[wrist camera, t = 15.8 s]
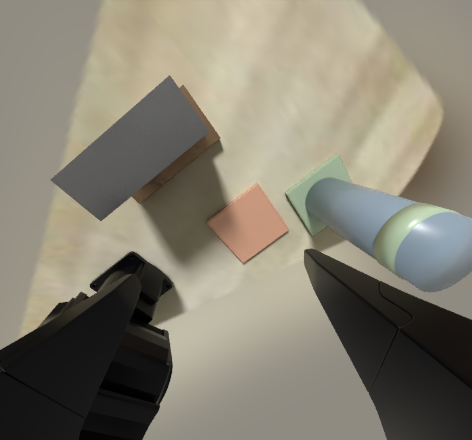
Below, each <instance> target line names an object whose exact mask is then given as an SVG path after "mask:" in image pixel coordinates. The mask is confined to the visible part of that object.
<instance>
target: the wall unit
mask: <svg viewBox="0 0 472 440" xmlns="http://www.w3.org/2000/svg"><path fill="white" fill-rule="evenodd" d="M219 139H220V137H219V135H218V134H217V132H216V131H215V129H214V128H213V127H212V125H211V124H210V122H209V121H208V119H207V118H206V117H205V115H204V114H203V112H202V111H201V109H200V108H199V107H198V105H197V104H196V102H195V101H194V99H193V98H192V97H191V95H190V94H189V92H188V91H187V89H186V88H185V87H184V85H182V86H181V87H180V88H178V86H177V85H176V83H175V82H174V81H173V79H172V78H171V76H170V75H169V76H168V77H167V78H166V79H165V80H164V81H163V82H161V83H160V84H159V85H158V86H157V87H156V88H155V89H154V90H152V91H151V92H150V93H149V94H148V95H147V96H146V97H144V98H143V99H142V100H141V101H140V102H139V103H138V104H136V105H135V106H134V107H133V108H132V109H131V110H130V111H128V112H127V113H126V114H125V115H124V116H123V117H122V118H120V119H119V120H118V121H117V122H116V123H115V124H114V125H112V126H111V127H110V128H109V129H108V130H107V131H106V132H104V133H103V134H102V135H101V136H100V137H99V138H98V139H96V140H95V141H94V142H93V143H92V144H91V145H90V146H88V147H87V148H86V149H85V150H84V151H83V152H82V153H81V154H79V155H78V156H77V157H76V158H75V159H74V160H73V161H71V162H70V163H69V164H68V165H67V166H66V167H65V168H63V169H62V170H61V171H60V172H59V173H58V174H57V175H55V176H54V177H53V178H52V179H51V181H52V182H54V183H55V184H56V185H57V186H58V187H60V188H61V189H62V190H63V191H64V192H66V193H67V194H68V195H69V196H71V197H72V198H73V199H74V200H75V201H77V202H78V203H79V204H80V205H82V206H83V207H84V208H85V209H86V210H88V211H89V212H90V213H91V214H93V215H94V216H95V217H96V218H97V219H99V220H100V221H102V220H103V219H104V218H105V217H107V216H108V215H109V214H110V213H112V212H113V211H114V210H115V209H116V208H118V207H119V206H120V205H121V204H122V203H124V202H125V201H126V200H127V199H129V198H130V197H131V196H132V197H133V198H134V199H135V200H136V201H137V202H138V203H139V204H140V203H141V202H142V201H144V200H145V199H146V198H147V197H149V196H150V195H151V194H152V193H153V192H155V191H156V190H157V189H158V188H160V187H161V186H162V185H163V184H165V183H166V182H167V181H168V180H169V179H171V178H172V177H173V176H174V175H176V174H177V173H178V172H179V171H180V170H182V169H183V168H184V167H185V166H187V165H188V164H189V163H190V162H192V161H193V160H194V159H195V158H196V157H198V156H199V155H200V154H201V153H203V152H204V151H205V150H206V149H208V148H209V147H210V146H211V145H212V144H214V143H215V142H216V141H217V140H219Z"/></svg>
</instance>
